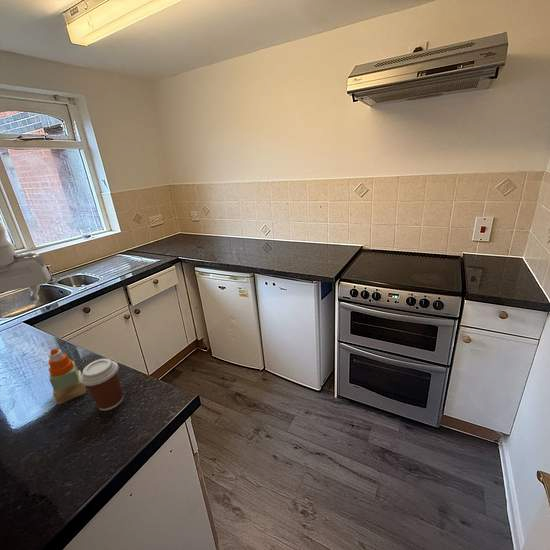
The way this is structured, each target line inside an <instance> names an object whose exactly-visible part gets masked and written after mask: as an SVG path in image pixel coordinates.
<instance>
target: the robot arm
mask: <svg viewBox="0 0 550 550" xmlns="http://www.w3.org/2000/svg"><path fill="white" fill-rule="evenodd" d="M5 229H6V228H5V226H4V223H3V222H2V220H1V219H0V294H1V293H6V292H12V291H16V290H20V289H26V288H29V289H30V290H31V291H33V292H32V293H31V294H30V296H29V299H30V301H31V302H36V301H39V300H40V296H39V291H40V287H41V286H42V285H46V284H48V283H49V282H50V280H51V278H52V275H51V273H50V271H49V269H48V267H47V266H46V264H45V259H44V257H43V256H42V255H41V254H39V253H35V252H27V253H20V254H17V253H16V252H15V249H14V247H13V244H12V242H11V241H10V240H9V239H8V237H7V236H6V232H5V231H6V230H5ZM1 307H2V305H1V304H0V308H1Z"/></svg>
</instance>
